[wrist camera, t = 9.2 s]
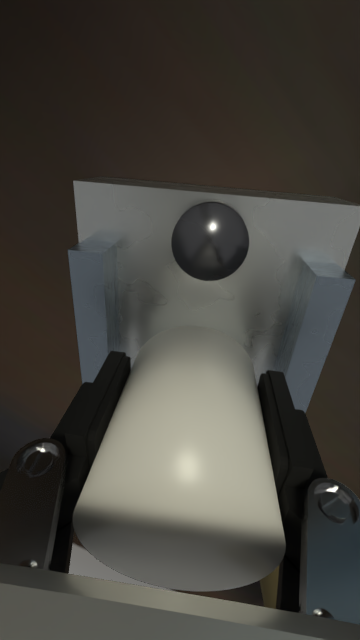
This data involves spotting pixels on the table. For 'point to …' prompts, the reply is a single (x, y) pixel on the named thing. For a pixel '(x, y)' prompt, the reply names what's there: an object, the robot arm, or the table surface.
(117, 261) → the grey fixture tray
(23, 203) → the table surface
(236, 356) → the white rounded cylinder
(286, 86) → the table surface
